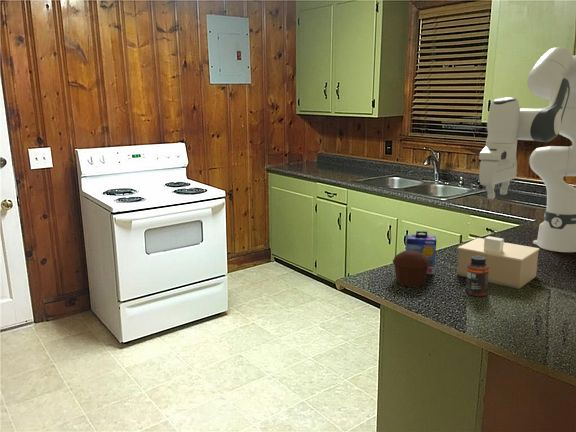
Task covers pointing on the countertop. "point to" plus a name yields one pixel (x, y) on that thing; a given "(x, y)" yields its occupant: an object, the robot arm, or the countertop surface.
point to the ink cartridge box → (423, 247)
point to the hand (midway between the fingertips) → (497, 196)
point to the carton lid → (499, 248)
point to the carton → (502, 268)
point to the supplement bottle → (477, 276)
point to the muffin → (411, 268)
